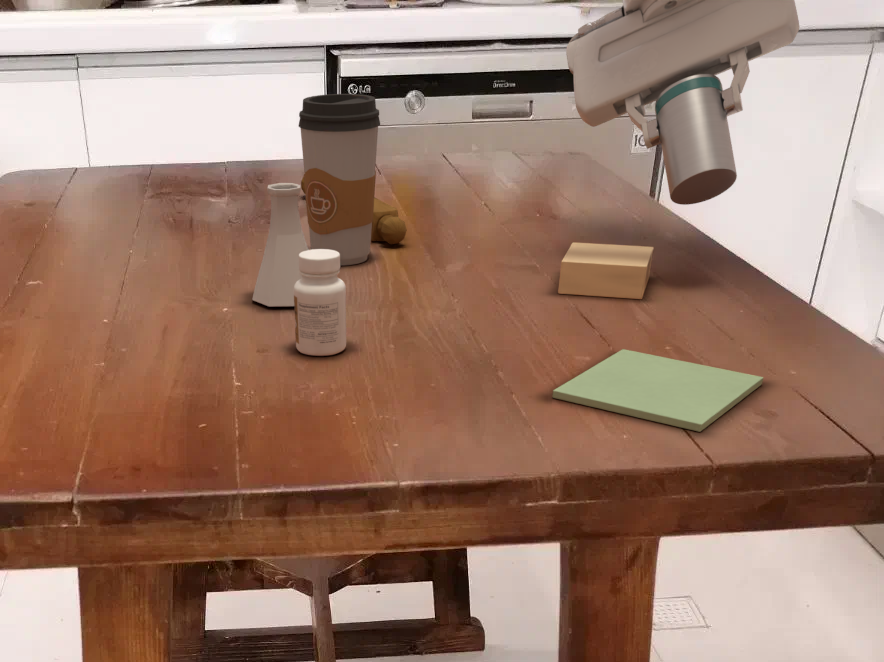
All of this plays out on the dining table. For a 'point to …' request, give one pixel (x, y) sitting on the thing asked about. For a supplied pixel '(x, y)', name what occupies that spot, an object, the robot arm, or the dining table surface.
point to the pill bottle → (320, 304)
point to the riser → (605, 270)
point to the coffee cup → (340, 172)
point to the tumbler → (695, 139)
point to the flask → (281, 248)
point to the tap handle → (383, 222)
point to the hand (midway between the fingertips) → (693, 127)
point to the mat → (659, 389)
